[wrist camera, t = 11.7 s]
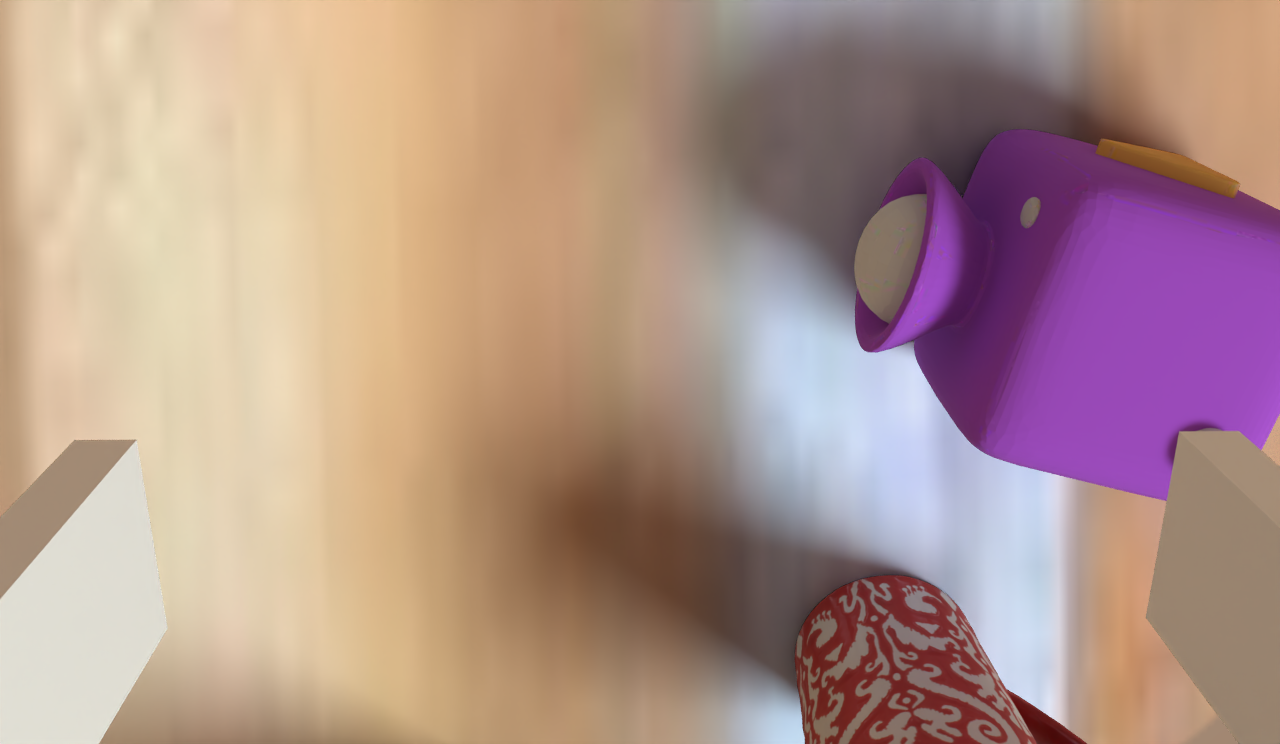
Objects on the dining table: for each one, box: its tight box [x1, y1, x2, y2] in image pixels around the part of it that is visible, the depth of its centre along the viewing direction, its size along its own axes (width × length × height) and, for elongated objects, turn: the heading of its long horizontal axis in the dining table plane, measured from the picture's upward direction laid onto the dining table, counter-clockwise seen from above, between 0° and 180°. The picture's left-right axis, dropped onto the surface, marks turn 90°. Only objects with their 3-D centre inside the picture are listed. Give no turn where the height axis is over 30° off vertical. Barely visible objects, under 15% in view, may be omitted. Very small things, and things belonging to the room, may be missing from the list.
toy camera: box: [854, 129, 1280, 501], centre depth 40 cm, size 11×14×10 cm
